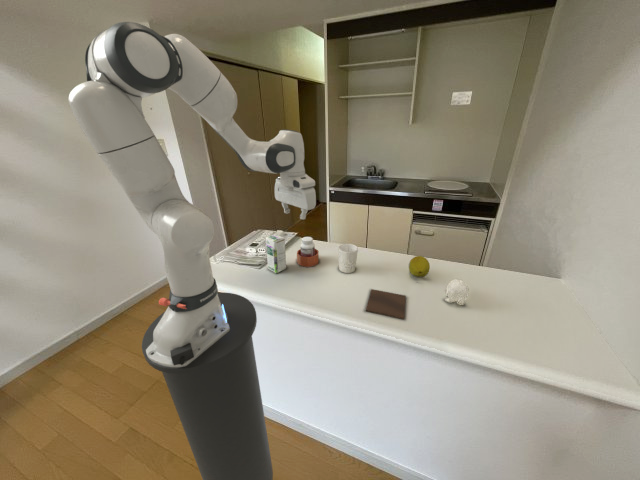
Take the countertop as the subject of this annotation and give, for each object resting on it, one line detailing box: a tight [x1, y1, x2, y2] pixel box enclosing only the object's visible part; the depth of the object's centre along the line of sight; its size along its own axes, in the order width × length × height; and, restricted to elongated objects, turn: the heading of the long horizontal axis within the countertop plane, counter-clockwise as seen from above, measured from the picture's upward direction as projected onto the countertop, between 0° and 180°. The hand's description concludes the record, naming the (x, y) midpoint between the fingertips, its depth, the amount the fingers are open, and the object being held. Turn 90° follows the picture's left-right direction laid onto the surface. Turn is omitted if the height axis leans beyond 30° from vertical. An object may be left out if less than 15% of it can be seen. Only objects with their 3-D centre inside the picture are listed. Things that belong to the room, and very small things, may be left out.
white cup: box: [337, 243, 359, 274], centre depth 106 cm, size 8×8×10 cm
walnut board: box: [365, 288, 407, 320], centre depth 87 cm, size 12×12×1 cm
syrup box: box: [265, 234, 287, 274], centre depth 105 cm, size 6×6×14 cm
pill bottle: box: [300, 236, 316, 257], centre depth 112 cm, size 6×6×11 cm
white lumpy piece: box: [444, 278, 470, 306], centre depth 88 cm, size 6×8×12 cm
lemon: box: [408, 255, 431, 278], centre depth 101 cm, size 11×8×8 cm
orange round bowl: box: [296, 248, 320, 268], centre depth 113 cm, size 9×10×4 cm
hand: (294, 216), depth 97 cm, fingers open, 8 cm apart
